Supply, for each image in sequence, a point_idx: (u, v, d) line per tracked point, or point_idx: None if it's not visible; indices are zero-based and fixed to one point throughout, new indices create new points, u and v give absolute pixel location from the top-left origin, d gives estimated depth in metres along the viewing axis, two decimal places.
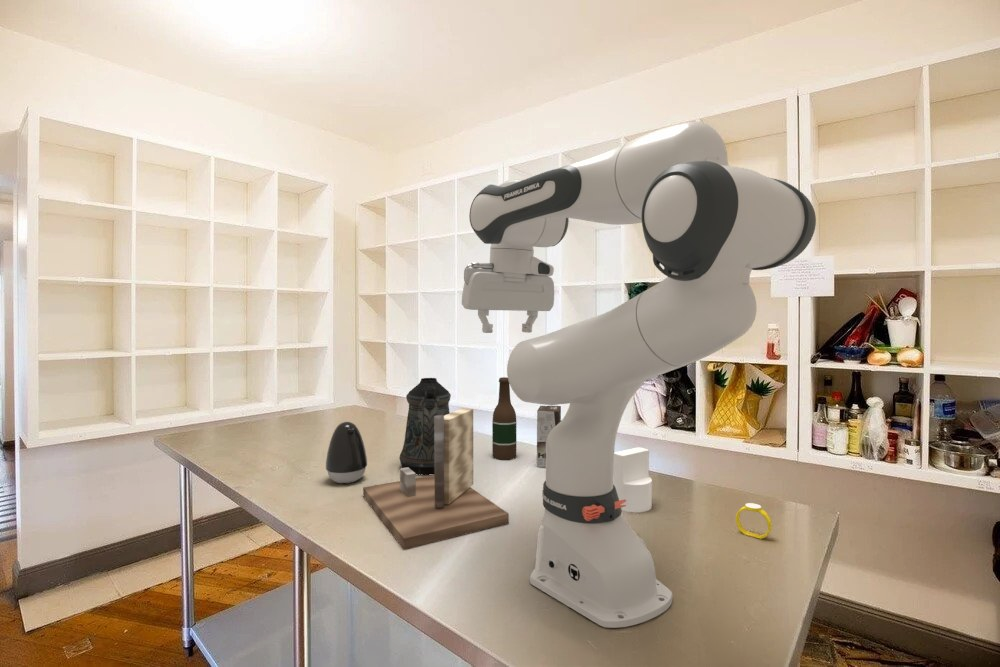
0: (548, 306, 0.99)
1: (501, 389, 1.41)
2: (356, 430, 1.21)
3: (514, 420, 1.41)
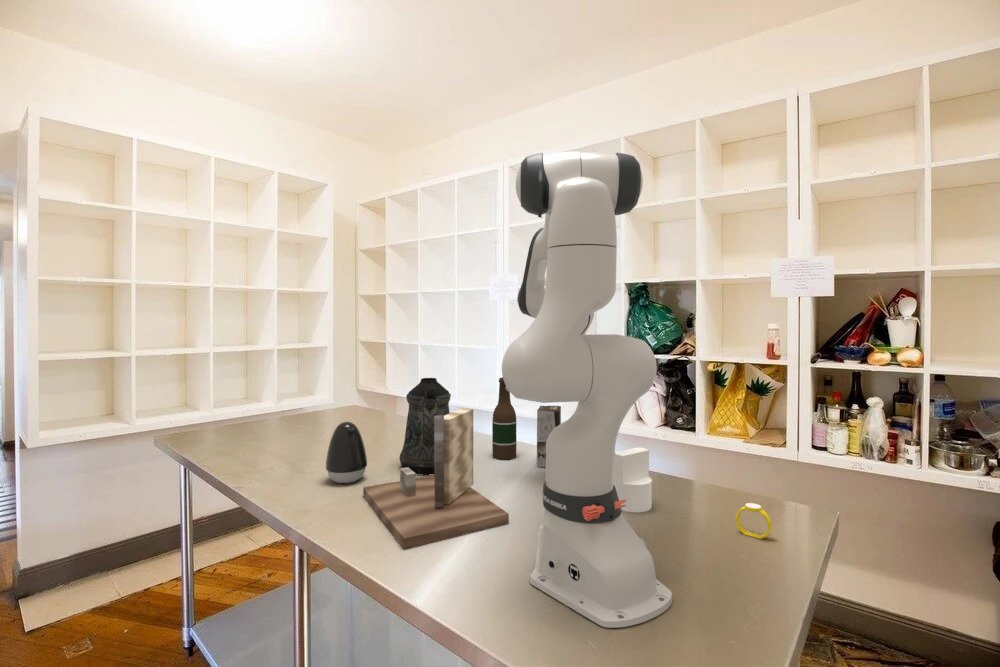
0: None
1: (501, 389, 1.41)
2: (356, 430, 1.21)
3: (514, 420, 1.41)
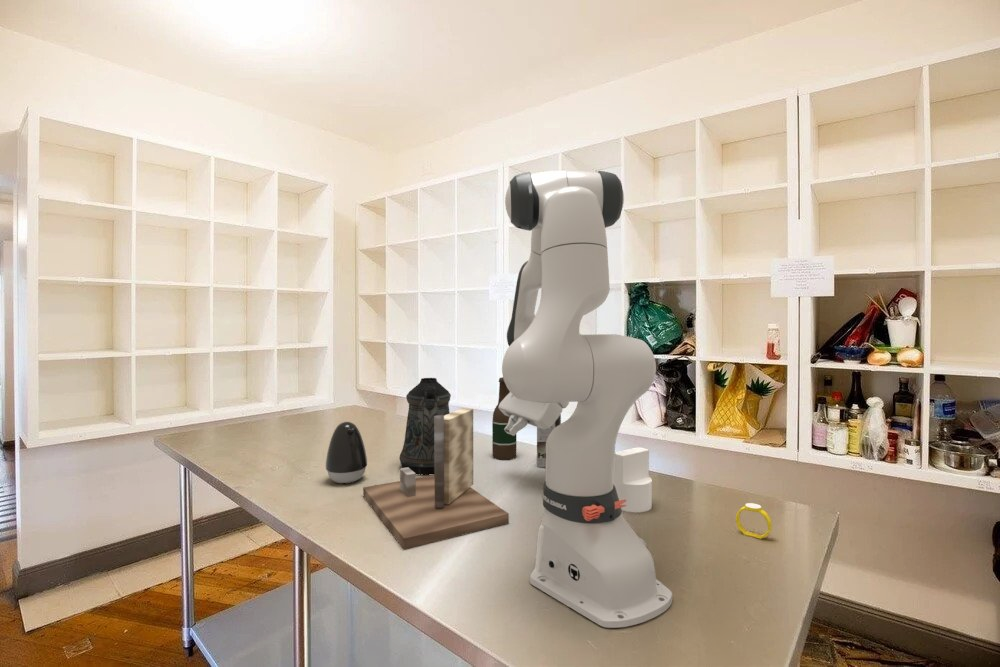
0: (537, 416, 1.09)
1: (501, 389, 1.41)
2: (356, 430, 1.21)
3: None
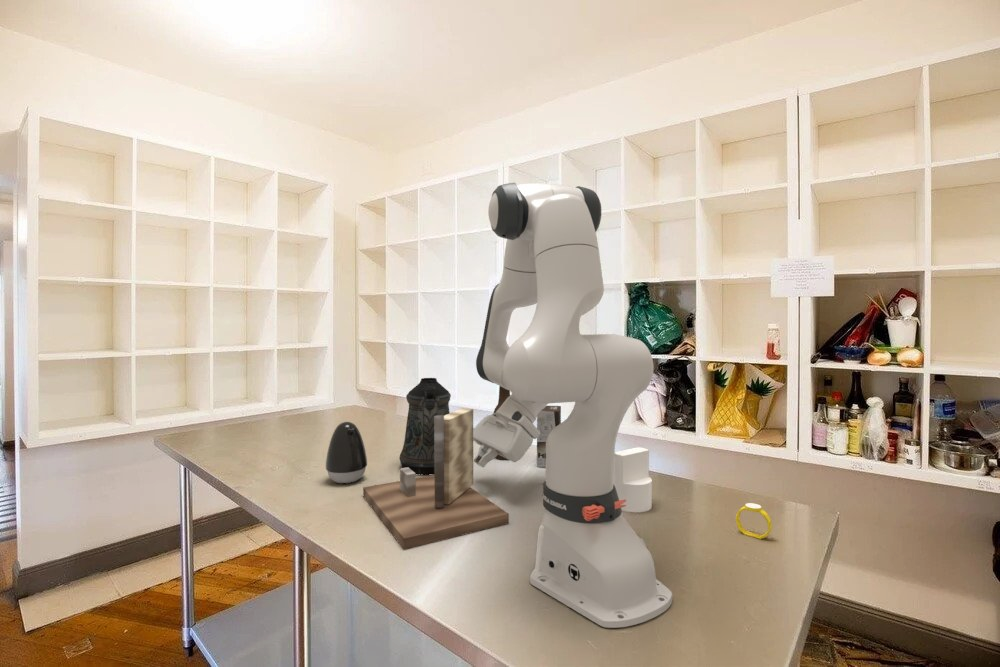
0: (506, 449, 1.05)
1: (501, 389, 1.41)
2: (356, 430, 1.21)
3: None
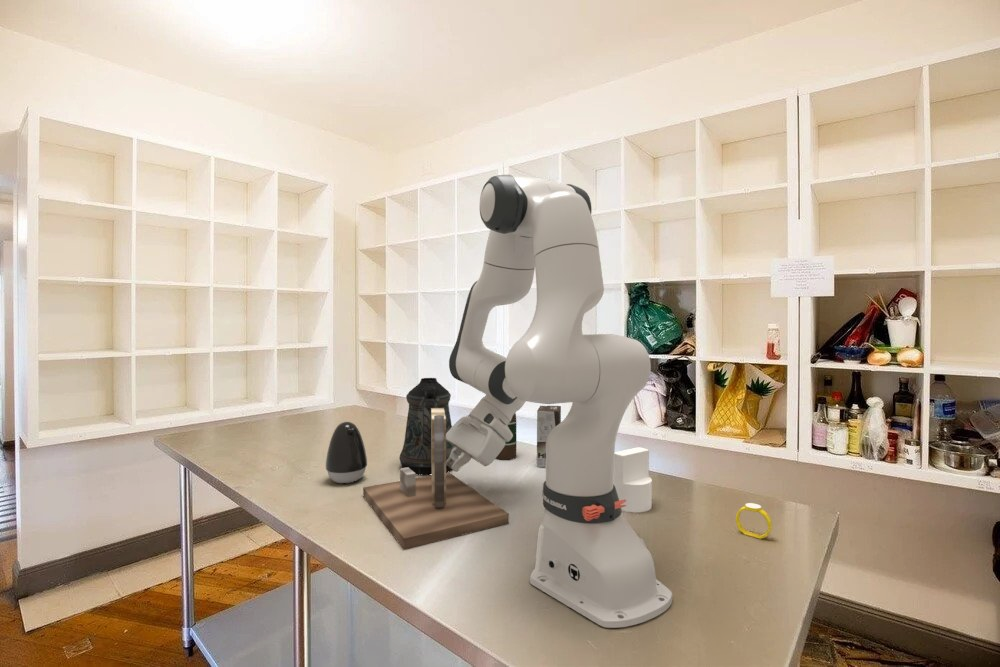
0: (476, 453, 1.02)
1: None
2: (356, 430, 1.21)
3: (514, 420, 1.41)
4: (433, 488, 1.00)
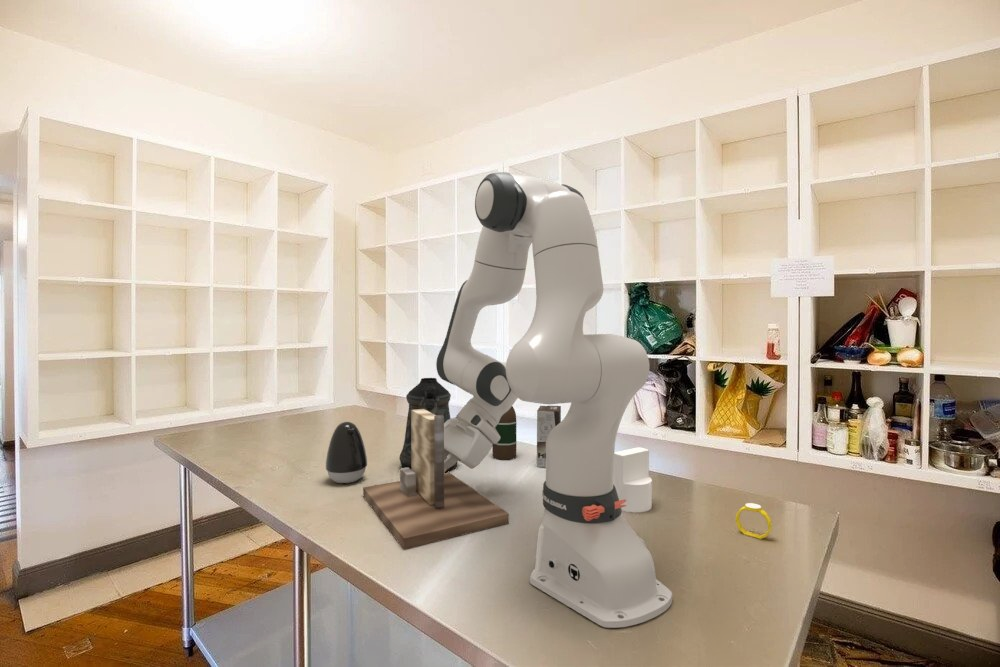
0: (462, 455, 1.00)
1: None
2: (356, 430, 1.21)
3: (514, 420, 1.41)
4: (431, 489, 1.00)
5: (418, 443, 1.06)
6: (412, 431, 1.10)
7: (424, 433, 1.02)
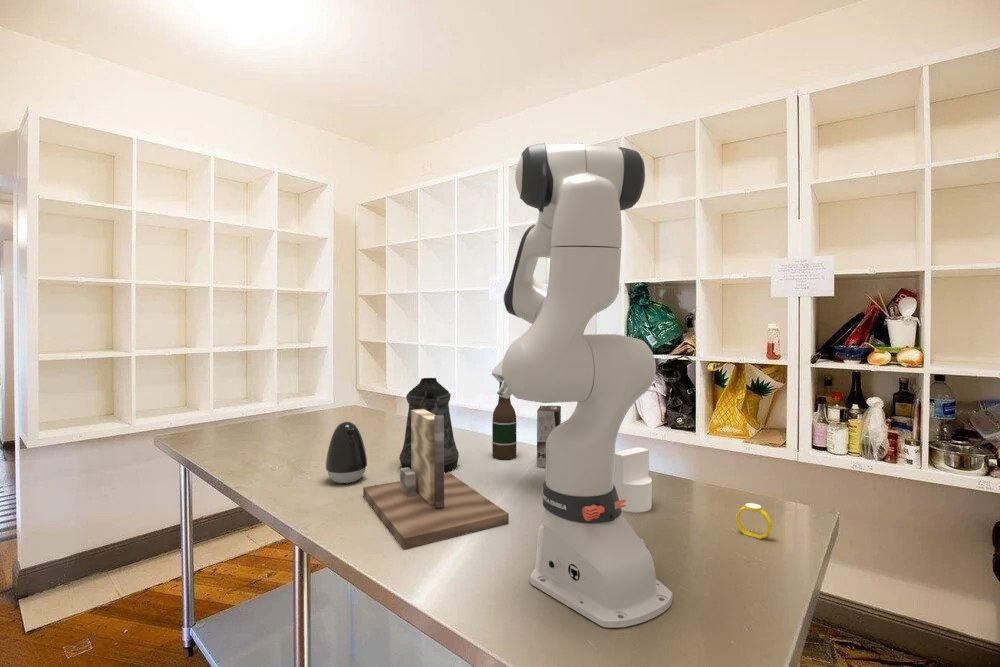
0: None
1: None
2: (356, 430, 1.21)
3: (514, 420, 1.41)
4: (431, 489, 1.00)
5: (418, 443, 1.06)
6: (412, 431, 1.10)
7: (424, 433, 1.02)
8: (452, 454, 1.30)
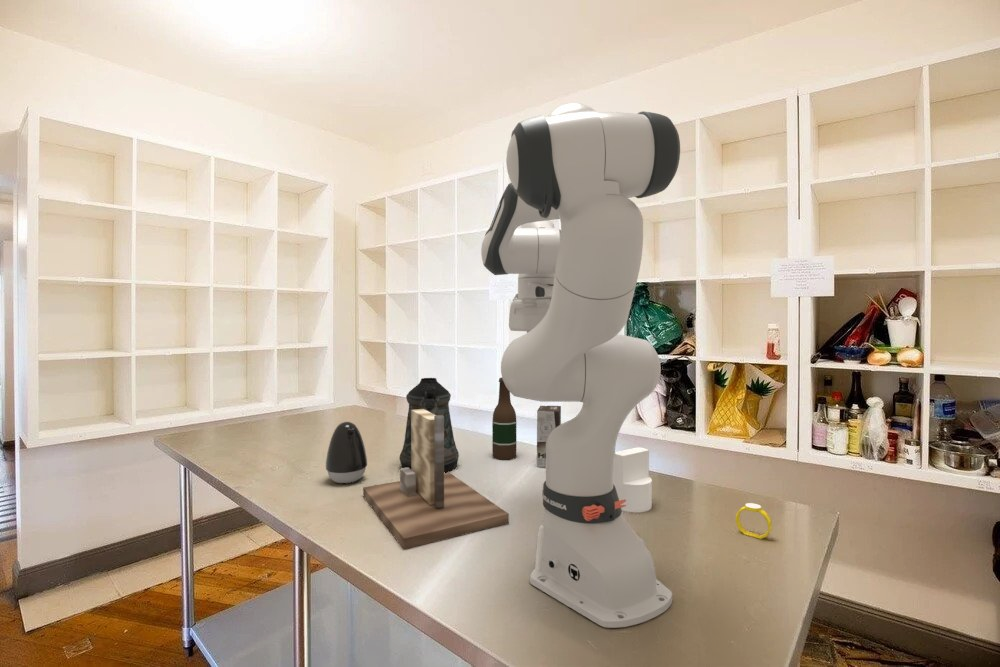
0: None
1: (501, 389, 1.41)
2: (356, 430, 1.21)
3: (514, 420, 1.41)
4: (431, 489, 1.00)
5: (418, 443, 1.06)
6: (412, 431, 1.10)
7: (424, 433, 1.02)
8: (452, 454, 1.30)
